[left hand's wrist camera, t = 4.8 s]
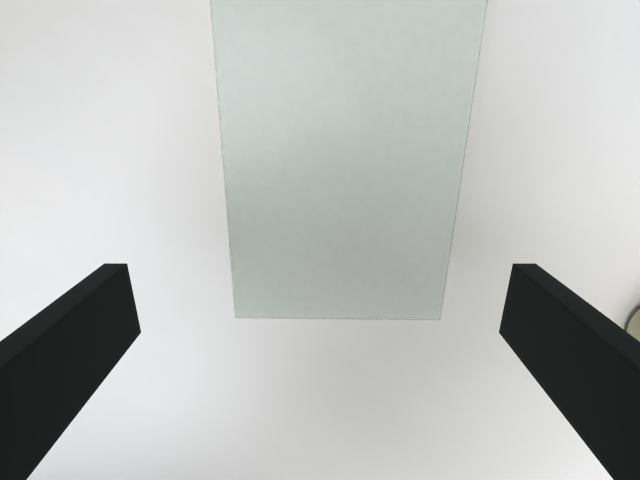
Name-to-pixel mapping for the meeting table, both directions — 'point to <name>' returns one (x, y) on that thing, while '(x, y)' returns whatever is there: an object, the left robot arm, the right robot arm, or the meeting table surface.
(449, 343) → the meeting table surface
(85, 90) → the meeting table surface
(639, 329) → the flower pot
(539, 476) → the meeting table surface
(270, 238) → the pale grey box
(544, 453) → the meeting table surface
